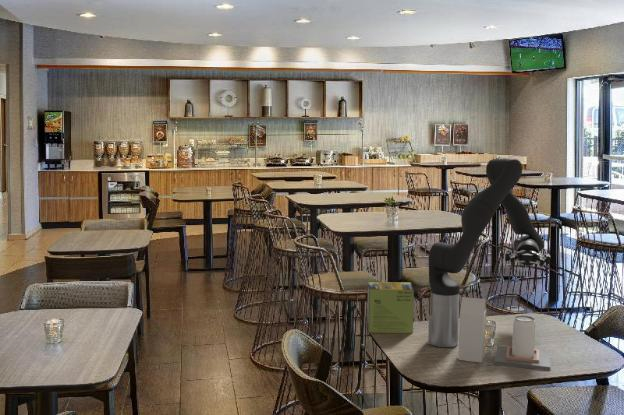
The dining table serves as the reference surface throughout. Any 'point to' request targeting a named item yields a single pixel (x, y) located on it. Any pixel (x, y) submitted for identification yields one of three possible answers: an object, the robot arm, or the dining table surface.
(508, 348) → the seat plate
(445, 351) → the dining table surface
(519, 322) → the can
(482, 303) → the milk carton
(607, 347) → the dining table surface
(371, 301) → the protein box
